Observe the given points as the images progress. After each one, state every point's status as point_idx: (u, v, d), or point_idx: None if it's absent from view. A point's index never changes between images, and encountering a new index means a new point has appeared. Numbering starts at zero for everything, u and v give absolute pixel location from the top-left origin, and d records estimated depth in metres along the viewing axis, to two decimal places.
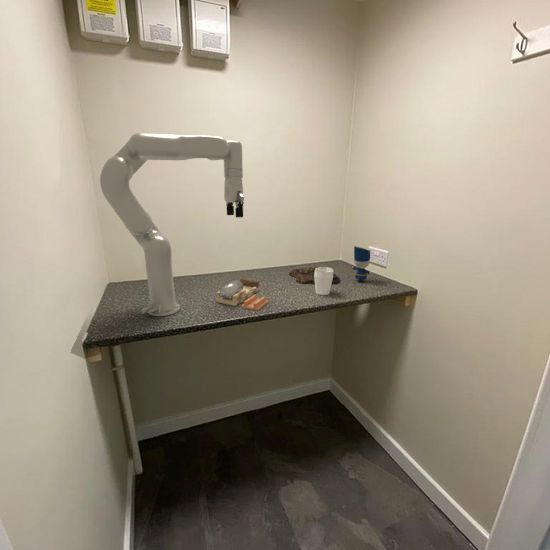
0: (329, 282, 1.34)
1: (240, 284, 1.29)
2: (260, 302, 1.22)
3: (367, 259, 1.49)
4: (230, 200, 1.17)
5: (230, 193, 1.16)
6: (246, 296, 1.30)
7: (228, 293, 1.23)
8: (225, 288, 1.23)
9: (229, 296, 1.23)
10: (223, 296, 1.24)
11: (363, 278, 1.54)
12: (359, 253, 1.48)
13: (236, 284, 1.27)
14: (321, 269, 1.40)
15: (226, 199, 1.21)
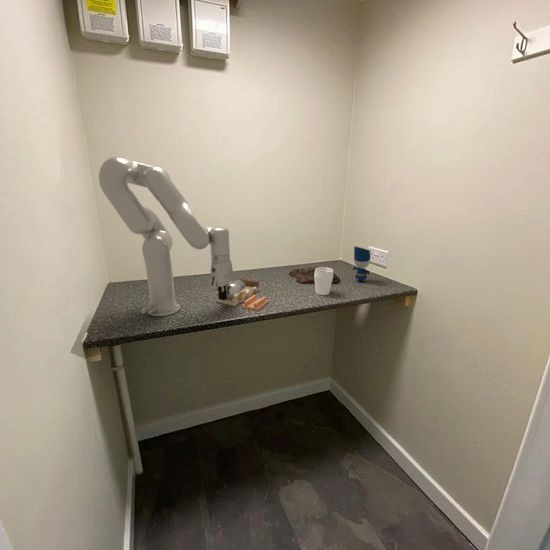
0: (329, 282, 1.34)
1: (243, 285, 1.30)
2: (260, 302, 1.22)
3: (367, 259, 1.49)
4: (230, 281, 1.21)
5: (230, 274, 1.20)
6: (246, 296, 1.30)
7: (230, 293, 1.23)
8: (228, 288, 1.23)
9: (230, 297, 1.23)
10: None
11: (363, 278, 1.54)
12: (359, 253, 1.48)
13: (239, 285, 1.28)
14: (321, 269, 1.40)
15: (224, 283, 1.17)
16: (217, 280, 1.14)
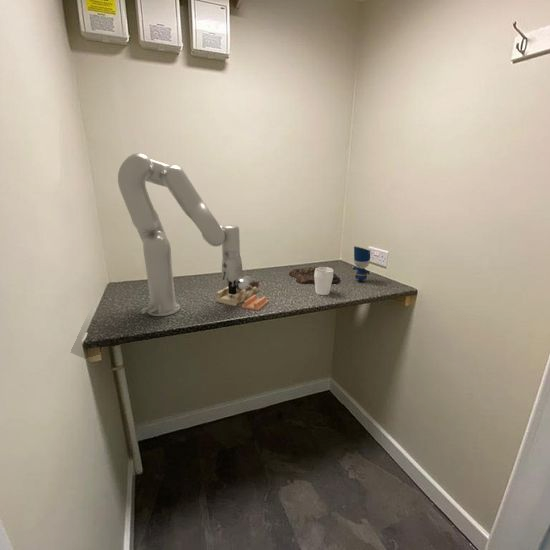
0: (329, 282, 1.34)
1: (251, 280, 1.36)
2: (260, 302, 1.22)
3: (367, 259, 1.49)
4: (240, 276, 1.27)
5: (240, 270, 1.27)
6: (246, 296, 1.30)
7: (239, 288, 1.30)
8: (237, 283, 1.29)
9: None
10: None
11: (363, 278, 1.54)
12: (359, 253, 1.48)
13: (248, 280, 1.34)
14: (321, 269, 1.40)
15: (235, 278, 1.23)
16: (228, 275, 1.21)
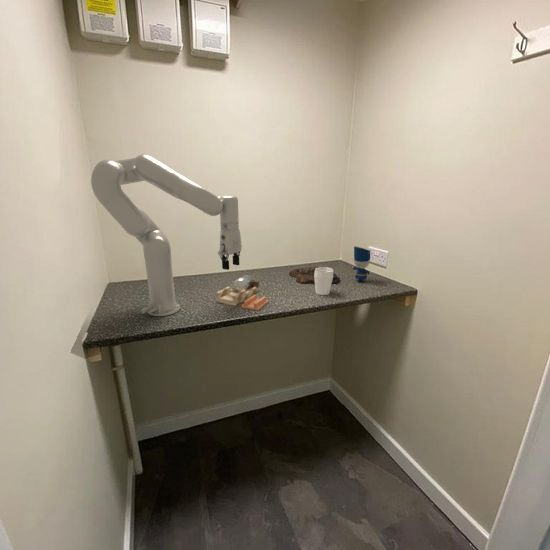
0: (329, 282, 1.34)
1: (250, 278, 1.37)
2: (260, 302, 1.22)
3: (367, 259, 1.49)
4: (239, 250, 1.23)
5: (239, 243, 1.23)
6: (246, 296, 1.30)
7: (239, 286, 1.31)
8: (236, 282, 1.31)
9: (240, 289, 1.31)
10: (234, 289, 1.33)
11: (363, 278, 1.54)
12: (359, 253, 1.48)
13: (246, 278, 1.35)
14: (321, 269, 1.40)
15: (233, 251, 1.20)
16: (226, 247, 1.17)
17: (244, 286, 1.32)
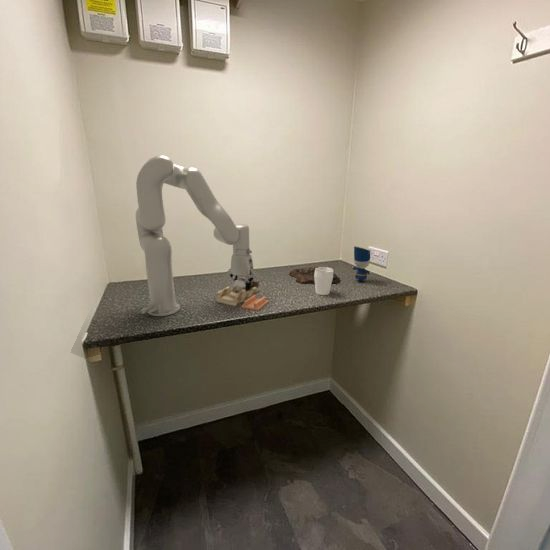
0: (329, 282, 1.34)
1: None
2: (260, 302, 1.22)
3: (367, 259, 1.49)
4: None
5: None
6: (246, 296, 1.30)
7: (240, 286, 1.31)
8: (237, 282, 1.31)
9: (240, 289, 1.31)
10: (234, 289, 1.33)
11: (363, 278, 1.54)
12: (359, 253, 1.48)
13: None
14: (321, 269, 1.40)
15: None
16: (252, 269, 1.32)
17: (245, 286, 1.32)
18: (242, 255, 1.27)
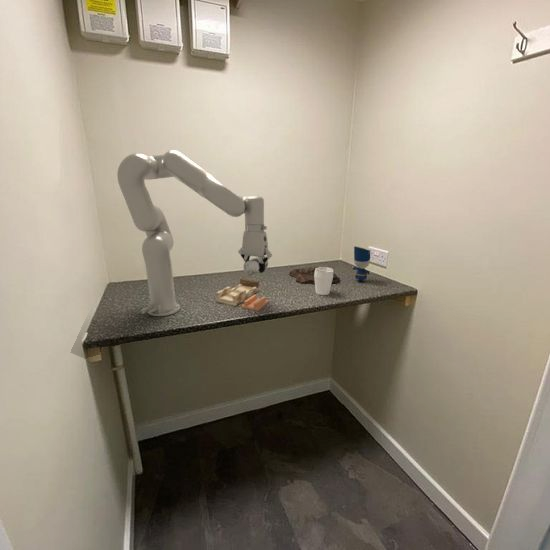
0: (329, 282, 1.34)
1: None
2: (260, 302, 1.22)
3: (367, 259, 1.49)
4: None
5: None
6: (246, 296, 1.30)
7: (253, 268, 1.15)
8: (250, 262, 1.15)
9: (253, 271, 1.15)
10: (247, 271, 1.17)
11: (363, 278, 1.54)
12: (359, 253, 1.48)
13: None
14: (321, 269, 1.40)
15: None
16: (267, 248, 1.16)
17: (258, 268, 1.16)
18: (256, 231, 1.11)
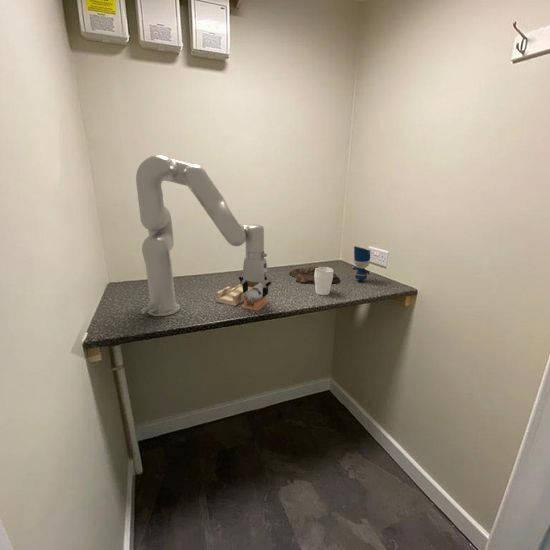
0: (329, 282, 1.34)
1: None
2: (260, 302, 1.22)
3: (367, 259, 1.49)
4: None
5: None
6: None
7: (253, 297, 1.18)
8: (250, 292, 1.18)
9: (254, 300, 1.19)
10: (247, 300, 1.20)
11: (363, 278, 1.54)
12: (359, 253, 1.48)
13: (261, 288, 1.23)
14: (321, 269, 1.40)
15: None
16: None
17: (258, 297, 1.20)
18: (256, 259, 1.14)
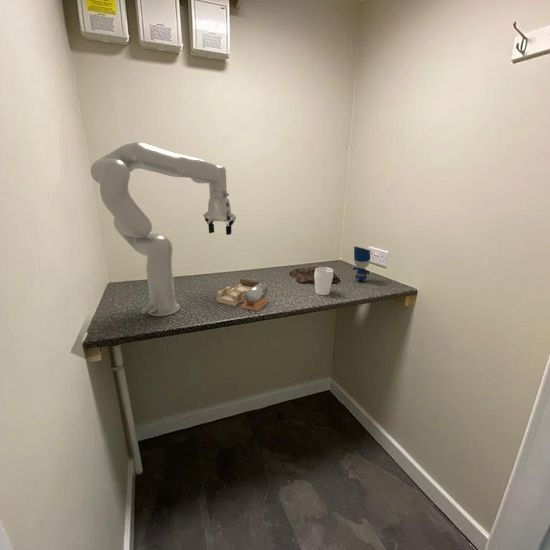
0: (329, 282, 1.34)
1: (264, 288, 1.25)
2: (260, 302, 1.22)
3: (367, 259, 1.49)
4: None
5: None
6: None
7: (253, 297, 1.18)
8: (250, 292, 1.18)
9: (254, 300, 1.19)
10: (247, 300, 1.20)
11: (363, 278, 1.54)
12: (359, 253, 1.48)
13: (261, 288, 1.23)
14: (321, 269, 1.40)
15: None
16: None
17: (258, 297, 1.20)
18: (219, 197, 1.24)
